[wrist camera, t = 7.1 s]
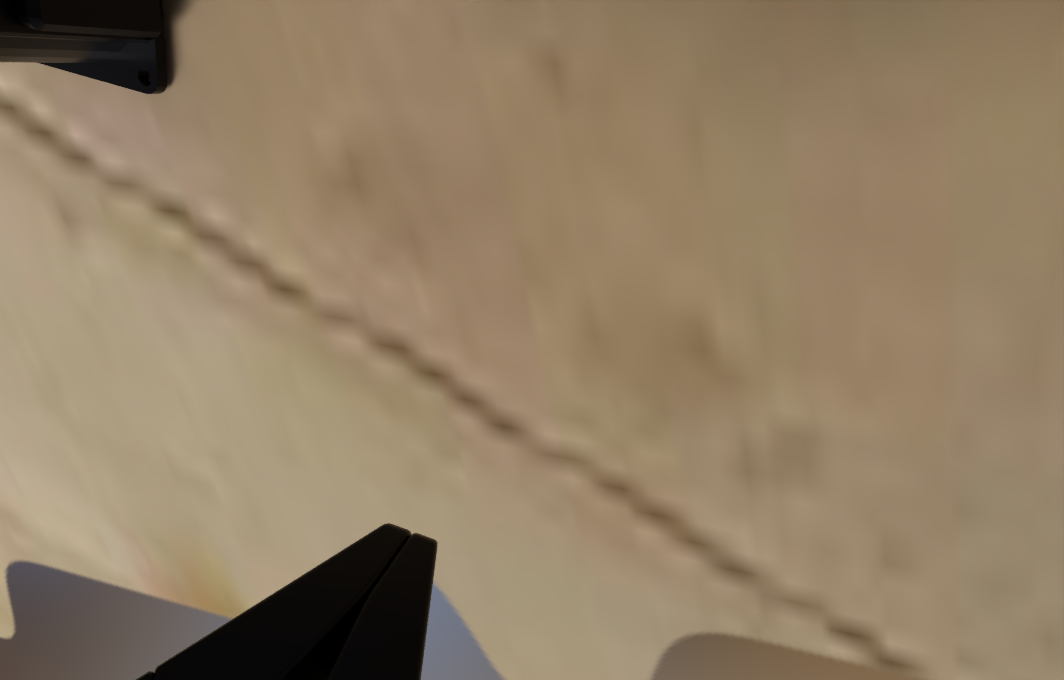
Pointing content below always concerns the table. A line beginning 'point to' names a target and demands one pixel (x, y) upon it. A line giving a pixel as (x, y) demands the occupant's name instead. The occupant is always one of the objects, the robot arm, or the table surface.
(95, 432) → the table surface
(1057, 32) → the table surface
